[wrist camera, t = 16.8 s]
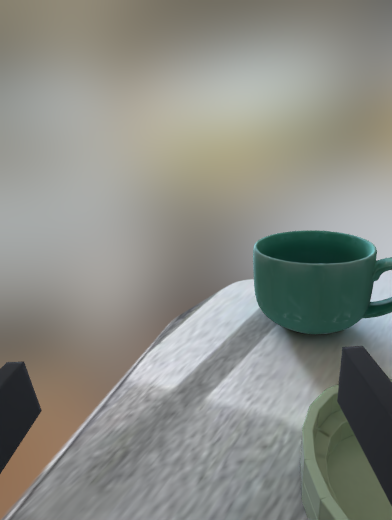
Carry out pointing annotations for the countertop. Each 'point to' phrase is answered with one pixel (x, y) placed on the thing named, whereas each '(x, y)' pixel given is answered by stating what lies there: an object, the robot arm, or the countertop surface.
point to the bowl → (337, 467)
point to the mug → (317, 280)
